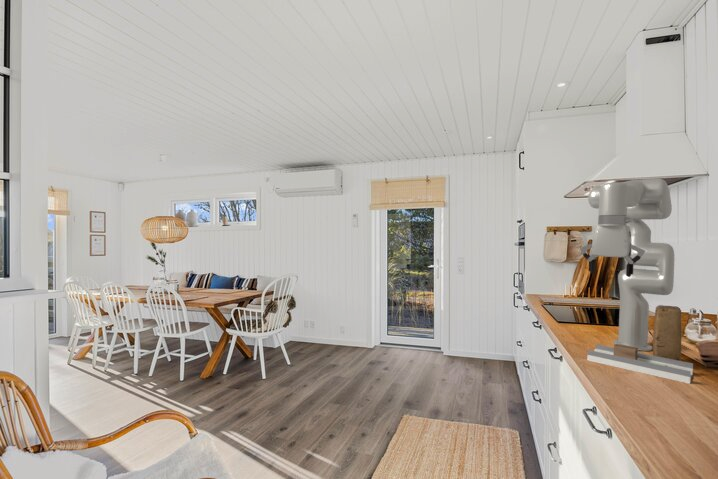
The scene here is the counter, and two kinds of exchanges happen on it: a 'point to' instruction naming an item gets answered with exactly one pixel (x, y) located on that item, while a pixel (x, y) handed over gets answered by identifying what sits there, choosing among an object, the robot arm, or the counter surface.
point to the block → (667, 332)
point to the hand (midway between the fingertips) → (610, 275)
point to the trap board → (644, 364)
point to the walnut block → (626, 351)
